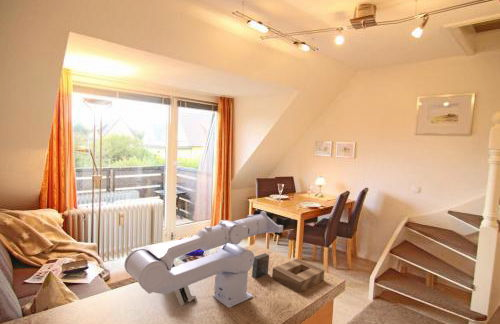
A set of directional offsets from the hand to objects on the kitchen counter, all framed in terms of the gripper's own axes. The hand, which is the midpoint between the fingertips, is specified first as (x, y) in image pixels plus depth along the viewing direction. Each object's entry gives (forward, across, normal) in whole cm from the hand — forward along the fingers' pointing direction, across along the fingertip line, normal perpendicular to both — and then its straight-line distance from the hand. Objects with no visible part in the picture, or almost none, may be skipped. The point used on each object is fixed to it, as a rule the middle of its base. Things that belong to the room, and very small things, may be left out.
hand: (280, 218), depth 96 cm
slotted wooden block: (+5, -6, +21) cm, 22 cm away
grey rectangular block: (-4, +5, +21) cm, 22 cm away
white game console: (-32, +13, +21) cm, 40 cm away
